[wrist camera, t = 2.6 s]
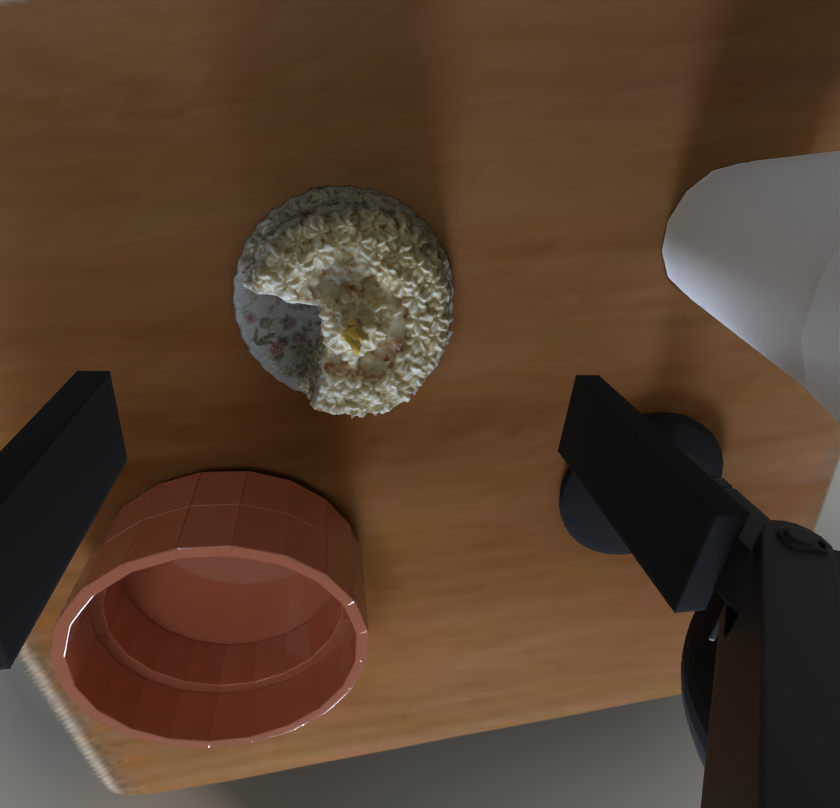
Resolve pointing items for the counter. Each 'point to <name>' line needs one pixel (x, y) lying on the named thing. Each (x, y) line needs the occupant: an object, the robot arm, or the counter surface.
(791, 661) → the robot arm
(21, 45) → the counter surface
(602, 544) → the wine glass
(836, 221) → the foam cup
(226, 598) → the bowl
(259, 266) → the cake
